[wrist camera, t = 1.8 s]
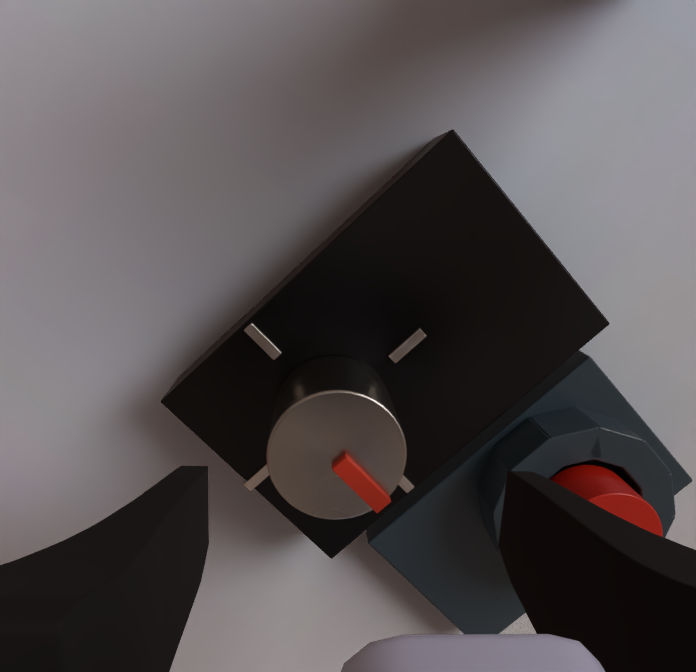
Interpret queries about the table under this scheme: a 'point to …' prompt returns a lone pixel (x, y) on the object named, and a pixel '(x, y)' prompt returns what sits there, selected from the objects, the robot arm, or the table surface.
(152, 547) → the robot arm
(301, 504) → the burner knob
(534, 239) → the panel
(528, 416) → the button box
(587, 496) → the stop button
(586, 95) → the table surface
